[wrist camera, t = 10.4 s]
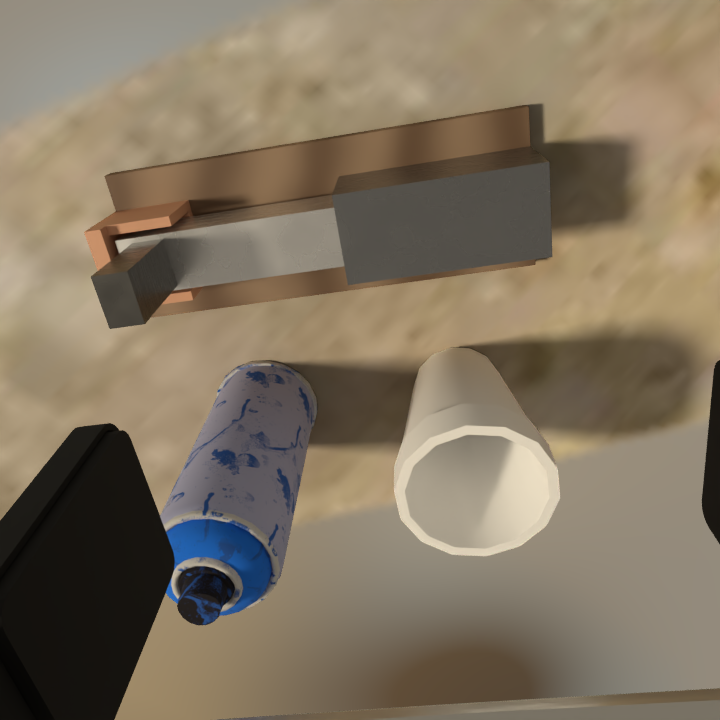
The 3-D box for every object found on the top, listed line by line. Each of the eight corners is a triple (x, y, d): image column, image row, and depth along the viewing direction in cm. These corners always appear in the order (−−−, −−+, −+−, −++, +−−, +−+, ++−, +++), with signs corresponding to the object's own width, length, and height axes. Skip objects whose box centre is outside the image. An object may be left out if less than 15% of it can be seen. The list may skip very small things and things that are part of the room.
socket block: (188, 200, 42) (164, 219, 38) (210, 277, 45) (189, 304, 40) (116, 211, 43) (84, 232, 38) (141, 287, 45) (113, 315, 41)
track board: (525, 104, 40) (528, 106, 39) (532, 260, 44) (535, 264, 43) (110, 173, 43) (104, 176, 42) (155, 312, 47) (151, 317, 46)
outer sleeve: (530, 146, 40) (549, 161, 35) (534, 231, 42) (552, 256, 37) (338, 176, 41) (331, 195, 36) (352, 257, 44) (347, 285, 39)
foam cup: (494, 449, 51) (524, 570, 40) (381, 422, 51) (377, 538, 39) (537, 344, 47) (585, 446, 35) (415, 313, 46) (422, 407, 35)
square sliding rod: (375, 188, 40) (370, 229, 32) (383, 243, 42) (381, 297, 34) (135, 225, 42) (70, 274, 34) (152, 276, 44) (94, 336, 35)
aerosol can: (202, 371, 49) (94, 563, 31) (301, 351, 48) (248, 539, 30) (235, 454, 53) (155, 671, 35) (328, 438, 51) (295, 653, 34)
